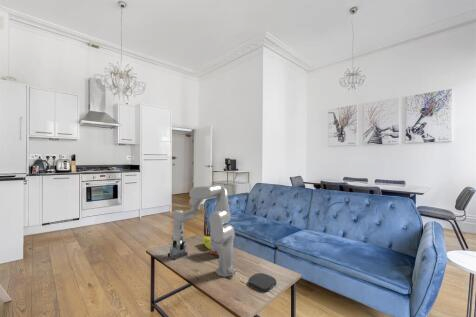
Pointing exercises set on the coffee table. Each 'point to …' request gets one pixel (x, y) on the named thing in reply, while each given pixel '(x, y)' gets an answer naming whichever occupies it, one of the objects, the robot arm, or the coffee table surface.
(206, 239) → the yellow toy chassis
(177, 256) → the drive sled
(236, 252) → the coffee table surface
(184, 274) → the coffee table surface
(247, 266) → the coffee table surface
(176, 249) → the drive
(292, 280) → the coffee table surface
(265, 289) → the media streaming box
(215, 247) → the cracker box
